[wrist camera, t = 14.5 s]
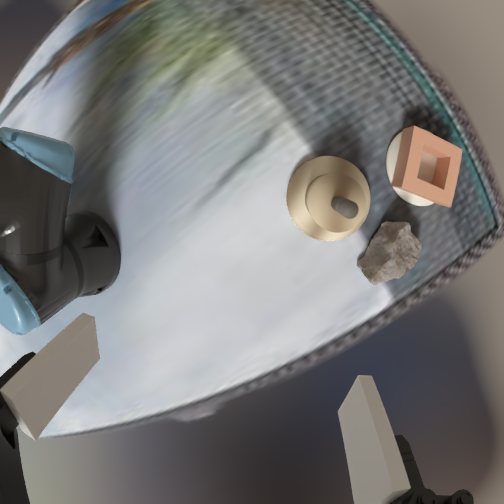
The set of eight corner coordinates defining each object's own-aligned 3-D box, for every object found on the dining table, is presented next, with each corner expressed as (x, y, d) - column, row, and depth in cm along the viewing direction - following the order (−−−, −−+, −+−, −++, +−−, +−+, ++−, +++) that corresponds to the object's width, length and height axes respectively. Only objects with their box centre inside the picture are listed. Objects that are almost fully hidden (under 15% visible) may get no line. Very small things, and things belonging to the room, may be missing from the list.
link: (390, 185, 36) (401, 187, 32) (402, 129, 33) (414, 125, 30) (437, 204, 36) (450, 207, 32) (448, 150, 33) (462, 149, 29)
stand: (277, 227, 40) (275, 252, 28) (297, 146, 37) (305, 133, 24) (355, 247, 40) (383, 279, 27) (376, 170, 36) (415, 170, 24)
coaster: (377, 191, 37) (378, 192, 37) (393, 117, 34) (395, 116, 33) (439, 215, 37) (441, 215, 36) (454, 145, 33) (456, 145, 33)
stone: (420, 245, 39) (437, 256, 33) (378, 289, 41) (390, 305, 36) (391, 210, 38) (406, 216, 32) (347, 256, 40) (356, 270, 35)
